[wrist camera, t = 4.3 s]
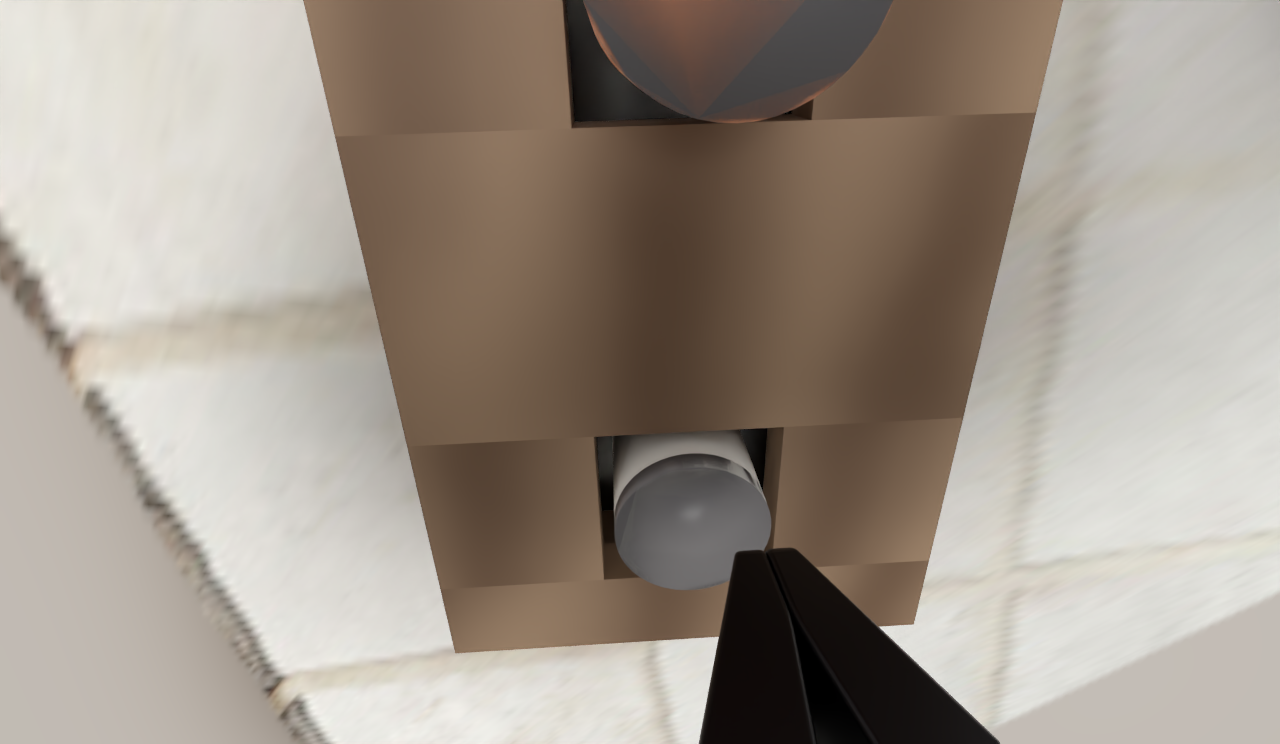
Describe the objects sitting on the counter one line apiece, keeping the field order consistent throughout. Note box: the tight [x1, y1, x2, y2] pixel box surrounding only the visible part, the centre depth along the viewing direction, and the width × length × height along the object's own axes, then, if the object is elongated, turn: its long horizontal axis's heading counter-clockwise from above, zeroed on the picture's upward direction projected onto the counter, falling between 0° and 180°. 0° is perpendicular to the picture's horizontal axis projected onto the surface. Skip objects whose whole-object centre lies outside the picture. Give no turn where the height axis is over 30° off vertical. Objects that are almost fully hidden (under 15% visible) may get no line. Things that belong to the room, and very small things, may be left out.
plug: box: [612, 429, 771, 590], centre depth 18 cm, size 4×4×6 cm
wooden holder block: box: [303, 0, 1063, 653], centre depth 16 cm, size 14×22×5 cm, turn 2°
